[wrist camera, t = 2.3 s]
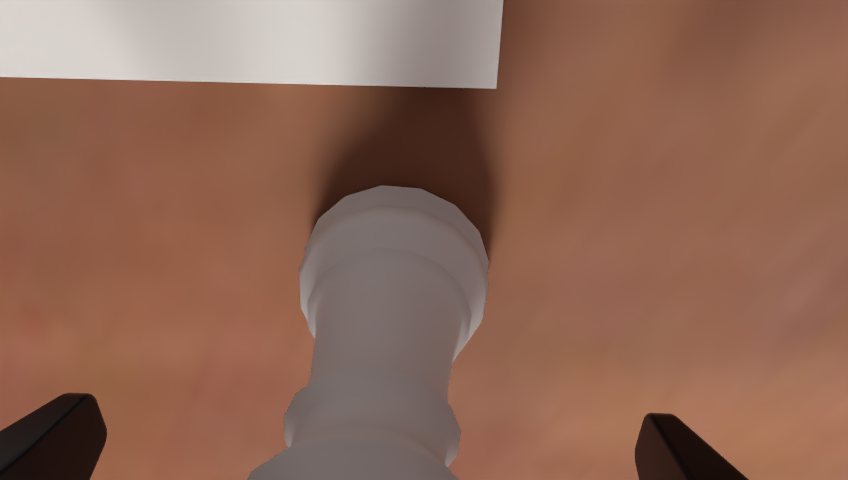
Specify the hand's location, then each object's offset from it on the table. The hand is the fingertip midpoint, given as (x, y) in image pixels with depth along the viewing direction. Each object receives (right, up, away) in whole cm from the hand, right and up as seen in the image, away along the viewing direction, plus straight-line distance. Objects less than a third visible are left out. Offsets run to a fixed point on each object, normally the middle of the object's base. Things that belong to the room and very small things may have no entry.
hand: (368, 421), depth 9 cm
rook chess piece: (0, +3, +5) cm, 5 cm away
